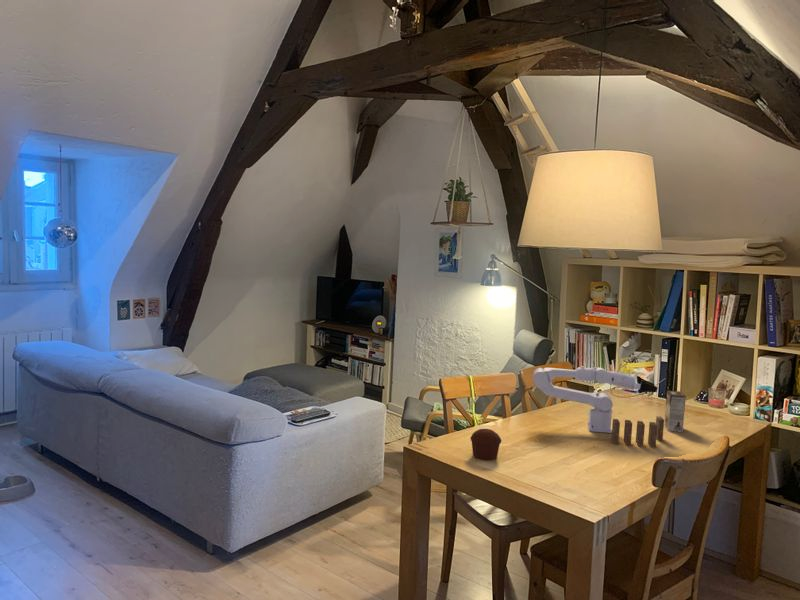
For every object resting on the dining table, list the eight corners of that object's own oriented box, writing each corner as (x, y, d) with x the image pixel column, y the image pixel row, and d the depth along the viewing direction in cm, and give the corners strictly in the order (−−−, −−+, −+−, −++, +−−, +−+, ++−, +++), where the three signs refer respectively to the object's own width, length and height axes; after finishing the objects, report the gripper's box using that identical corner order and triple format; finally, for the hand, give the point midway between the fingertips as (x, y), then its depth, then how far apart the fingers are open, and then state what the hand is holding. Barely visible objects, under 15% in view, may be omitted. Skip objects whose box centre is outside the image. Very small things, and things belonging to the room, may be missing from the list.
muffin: (507, 458, 235) (508, 431, 234) (486, 464, 228) (487, 437, 227) (483, 449, 244) (485, 423, 243) (463, 454, 237) (464, 428, 236)
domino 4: (650, 447, 254) (652, 425, 253) (647, 443, 258) (649, 421, 258) (655, 447, 253) (657, 425, 252) (652, 443, 258) (654, 422, 257)
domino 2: (625, 445, 255) (627, 423, 254) (623, 441, 260) (625, 419, 259) (630, 445, 255) (632, 423, 254) (628, 441, 260) (630, 420, 259)
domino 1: (613, 444, 256) (614, 422, 255) (611, 440, 261) (612, 418, 260) (618, 444, 256) (619, 422, 255) (616, 440, 261) (617, 419, 260)
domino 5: (657, 440, 263) (659, 419, 262) (654, 437, 267) (656, 416, 267) (662, 441, 262) (664, 419, 261) (659, 437, 267) (661, 416, 266)
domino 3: (637, 446, 254) (639, 424, 254) (635, 442, 259) (637, 420, 258) (643, 446, 254) (644, 424, 253) (640, 442, 259) (642, 421, 258)
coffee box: (663, 425, 286) (666, 390, 284) (678, 426, 285) (681, 391, 283) (667, 431, 277) (670, 394, 275) (683, 432, 276) (686, 396, 274)
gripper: (626, 374, 263) (660, 381, 261) (622, 368, 278) (654, 376, 275) (622, 390, 264) (656, 398, 261) (618, 384, 278) (650, 391, 276)
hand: (655, 388), depth 268 cm, fingers open, 7 cm apart
